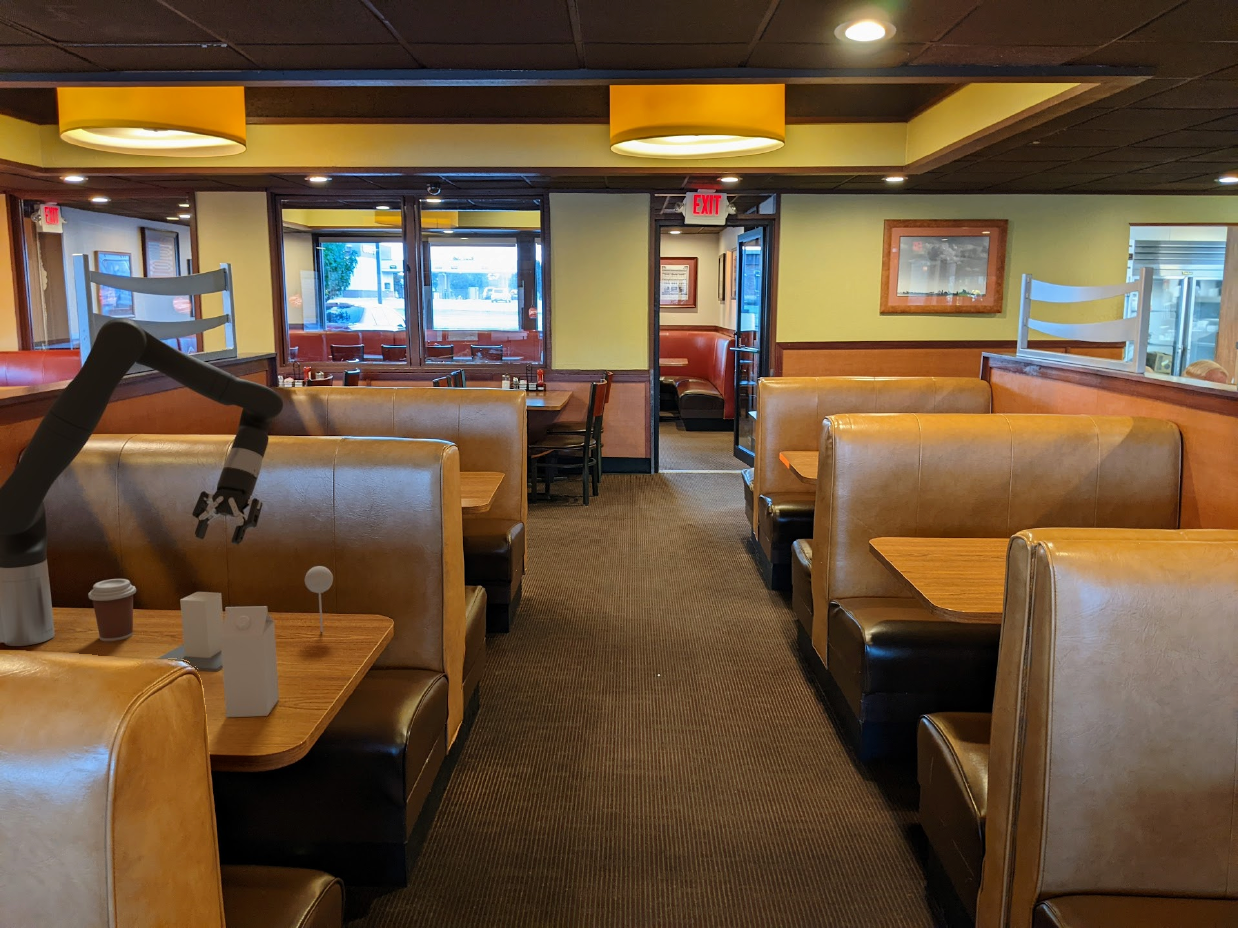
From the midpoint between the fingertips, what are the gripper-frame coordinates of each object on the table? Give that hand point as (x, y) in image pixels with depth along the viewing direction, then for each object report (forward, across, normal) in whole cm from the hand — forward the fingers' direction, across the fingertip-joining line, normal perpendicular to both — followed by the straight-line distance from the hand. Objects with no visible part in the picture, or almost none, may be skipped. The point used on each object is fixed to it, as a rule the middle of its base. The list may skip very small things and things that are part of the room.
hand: (217, 541), depth 197 cm
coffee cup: (+23, -20, +7) cm, 31 cm away
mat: (+24, +6, 0) cm, 25 cm away
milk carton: (+34, +30, -19) cm, 49 cm away
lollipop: (+14, +23, +14) cm, 30 cm away
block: (+24, +6, 0) cm, 24 cm away
